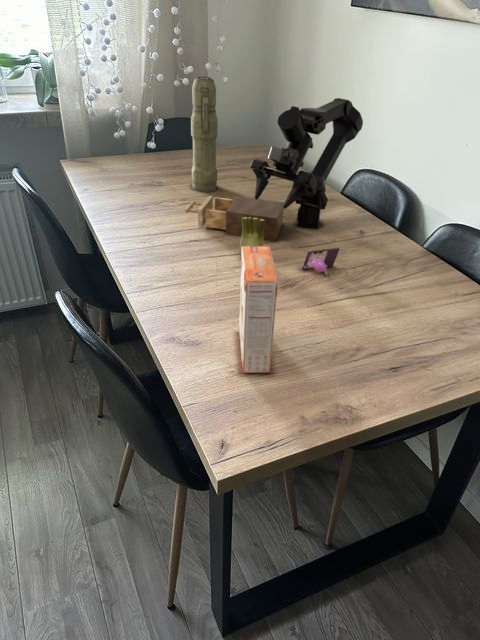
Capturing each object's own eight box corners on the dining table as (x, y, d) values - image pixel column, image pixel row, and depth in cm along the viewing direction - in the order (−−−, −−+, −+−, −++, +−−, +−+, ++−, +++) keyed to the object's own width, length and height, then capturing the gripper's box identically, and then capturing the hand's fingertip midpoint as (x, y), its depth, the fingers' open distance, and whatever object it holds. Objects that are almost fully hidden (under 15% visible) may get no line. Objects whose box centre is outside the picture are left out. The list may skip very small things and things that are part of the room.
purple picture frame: (338, 245, 133) (306, 248, 130) (345, 260, 131) (313, 263, 128) (331, 263, 139) (300, 266, 136) (337, 277, 136) (307, 281, 133)
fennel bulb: (263, 259, 139) (267, 217, 132) (254, 266, 135) (256, 223, 128) (246, 253, 141) (248, 212, 134) (236, 259, 138) (237, 217, 131)
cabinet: (225, 234, 151) (226, 211, 146) (235, 217, 161) (236, 196, 157) (275, 241, 149) (277, 218, 145) (282, 224, 159) (284, 202, 155)
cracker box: (237, 333, 110) (240, 244, 97) (264, 333, 111) (271, 245, 98) (240, 374, 99) (244, 280, 86) (270, 374, 99) (279, 280, 87)
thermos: (195, 193, 175) (194, 81, 154) (189, 182, 184) (186, 74, 163) (220, 192, 178) (222, 81, 157) (213, 181, 187) (213, 74, 166)
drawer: (182, 224, 152) (182, 207, 149) (194, 210, 162) (194, 193, 158) (244, 233, 150) (245, 215, 147) (252, 218, 159) (253, 201, 156)
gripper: (255, 127, 133) (229, 178, 132) (317, 141, 126) (290, 196, 125) (269, 151, 143) (245, 200, 142) (328, 166, 136) (302, 218, 135)
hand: (269, 203), depth 136 cm, fingers open, 9 cm apart
